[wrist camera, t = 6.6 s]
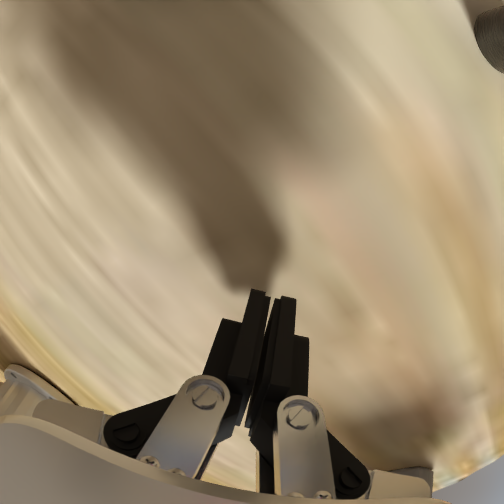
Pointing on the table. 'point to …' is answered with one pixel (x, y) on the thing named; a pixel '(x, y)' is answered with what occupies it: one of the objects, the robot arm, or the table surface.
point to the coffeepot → (418, 474)
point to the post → (491, 36)
